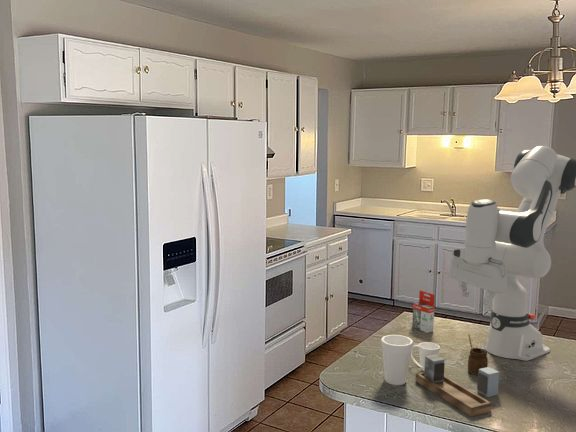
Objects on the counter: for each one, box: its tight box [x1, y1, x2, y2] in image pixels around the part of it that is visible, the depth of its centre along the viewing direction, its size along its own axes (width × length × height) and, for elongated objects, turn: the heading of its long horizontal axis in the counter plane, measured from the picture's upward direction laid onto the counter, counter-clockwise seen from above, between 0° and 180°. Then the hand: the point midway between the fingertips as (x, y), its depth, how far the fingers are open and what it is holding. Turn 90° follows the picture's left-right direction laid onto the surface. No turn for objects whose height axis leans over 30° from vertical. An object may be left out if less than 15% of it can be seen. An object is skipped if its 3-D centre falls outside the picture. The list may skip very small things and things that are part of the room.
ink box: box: [411, 289, 436, 334], centre depth 221 cm, size 4×8×15 cm, turn 35°
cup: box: [410, 341, 441, 372], centre depth 185 cm, size 7×10×8 cm
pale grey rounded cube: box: [476, 366, 500, 398], centre depth 167 cm, size 5×4×7 cm
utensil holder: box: [467, 334, 489, 376], centre depth 182 cm, size 6×6×12 cm
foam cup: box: [380, 334, 414, 386], centre depth 175 cm, size 10×9×13 cm
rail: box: [415, 354, 492, 417], centre depth 165 cm, size 24×7×8 cm, turn 25°
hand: (475, 300), depth 169 cm, fingers open, 8 cm apart
